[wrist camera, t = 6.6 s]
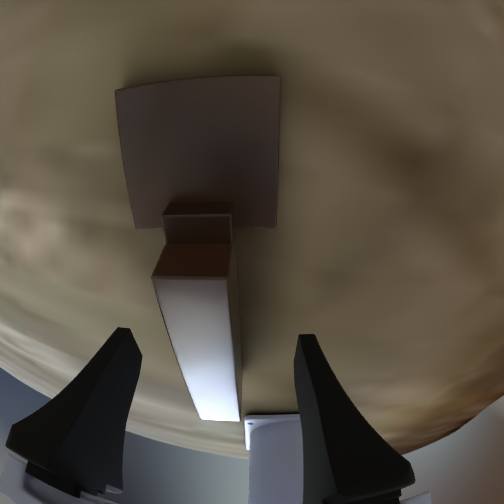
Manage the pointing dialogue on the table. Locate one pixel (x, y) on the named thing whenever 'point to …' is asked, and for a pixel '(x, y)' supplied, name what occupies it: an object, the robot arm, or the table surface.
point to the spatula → (202, 211)
